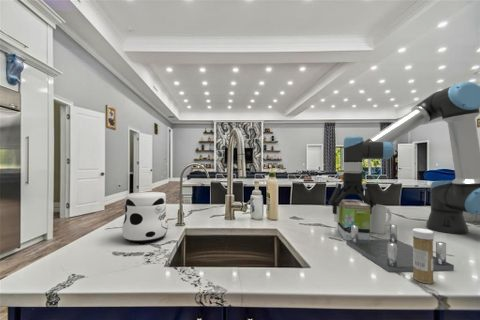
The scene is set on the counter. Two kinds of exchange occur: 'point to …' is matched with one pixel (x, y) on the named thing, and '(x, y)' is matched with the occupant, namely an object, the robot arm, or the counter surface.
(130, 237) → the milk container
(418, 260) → the sprinkles bottle
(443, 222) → the robot arm
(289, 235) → the counter surface
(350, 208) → the tea box
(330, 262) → the counter surface
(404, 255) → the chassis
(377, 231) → the mug
